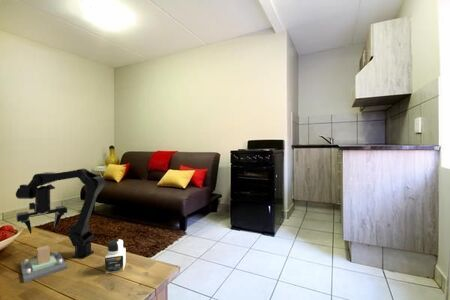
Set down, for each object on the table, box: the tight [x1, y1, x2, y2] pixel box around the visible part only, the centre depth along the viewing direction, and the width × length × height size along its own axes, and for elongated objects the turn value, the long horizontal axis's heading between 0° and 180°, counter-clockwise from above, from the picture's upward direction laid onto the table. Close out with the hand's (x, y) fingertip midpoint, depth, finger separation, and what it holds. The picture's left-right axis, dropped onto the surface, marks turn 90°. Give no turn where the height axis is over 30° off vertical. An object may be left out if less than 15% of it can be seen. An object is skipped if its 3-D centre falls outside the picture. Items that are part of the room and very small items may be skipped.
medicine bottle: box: [104, 238, 127, 274], centre depth 97 cm, size 7×7×12 cm
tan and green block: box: [31, 245, 57, 271], centre depth 98 cm, size 8×8×7 cm
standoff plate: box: [20, 250, 68, 283], centre depth 98 cm, size 18×14×3 cm
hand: (43, 230), depth 107 cm, fingers open, 9 cm apart
